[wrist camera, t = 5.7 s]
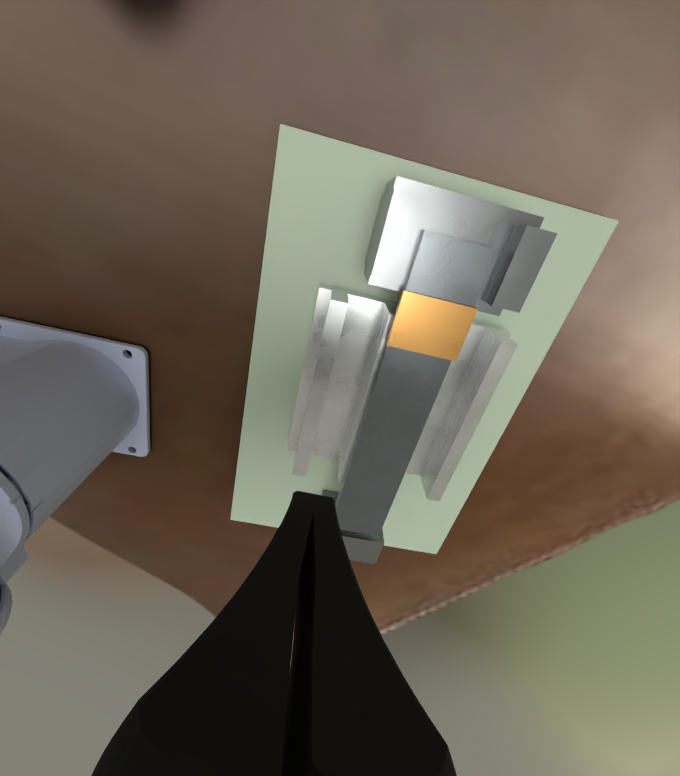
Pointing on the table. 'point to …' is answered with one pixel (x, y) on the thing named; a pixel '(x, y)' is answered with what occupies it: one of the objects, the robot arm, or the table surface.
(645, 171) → the table surface
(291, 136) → the pale green board
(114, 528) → the table surface
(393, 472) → the bar
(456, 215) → the hinge and catch
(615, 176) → the table surface
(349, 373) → the heat sink
